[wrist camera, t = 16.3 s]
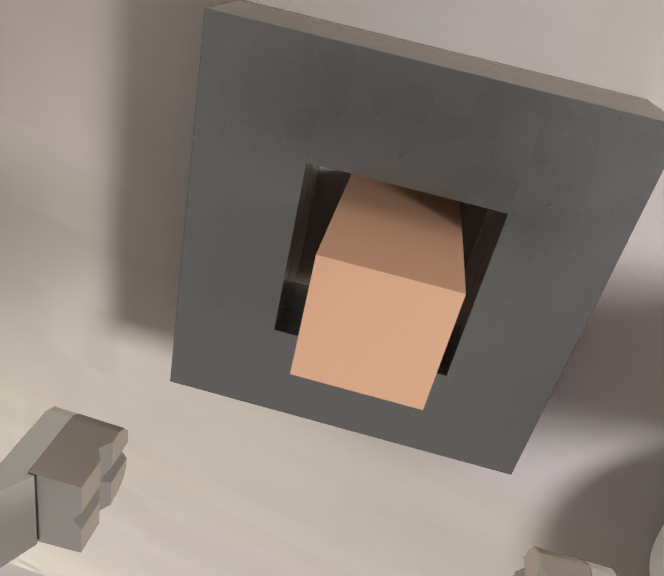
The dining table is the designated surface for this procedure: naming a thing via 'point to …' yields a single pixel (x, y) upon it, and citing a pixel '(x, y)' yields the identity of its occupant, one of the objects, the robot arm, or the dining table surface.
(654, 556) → the roll of tape
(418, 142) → the square hole block
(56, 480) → the robot arm
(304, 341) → the square peg
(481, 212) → the dining table surface
